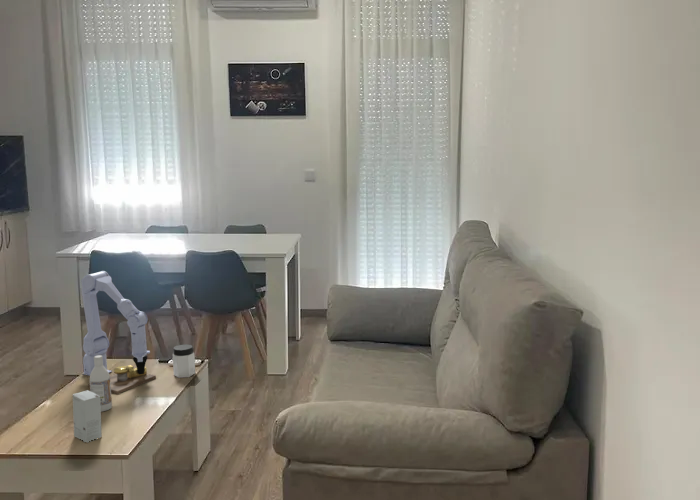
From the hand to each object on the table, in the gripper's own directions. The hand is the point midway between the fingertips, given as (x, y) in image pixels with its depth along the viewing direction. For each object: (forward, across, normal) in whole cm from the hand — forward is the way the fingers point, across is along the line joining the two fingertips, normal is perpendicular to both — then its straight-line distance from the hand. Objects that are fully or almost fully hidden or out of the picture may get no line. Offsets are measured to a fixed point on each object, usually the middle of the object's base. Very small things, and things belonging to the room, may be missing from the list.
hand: (141, 373), depth 272 cm
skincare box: (+3, -52, +18) cm, 55 cm away
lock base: (+2, -1, +8) cm, 8 cm away
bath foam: (+3, -28, +14) cm, 31 cm away
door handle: (+1, +1, +4) cm, 4 cm away
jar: (+3, 0, -17) cm, 18 cm away
